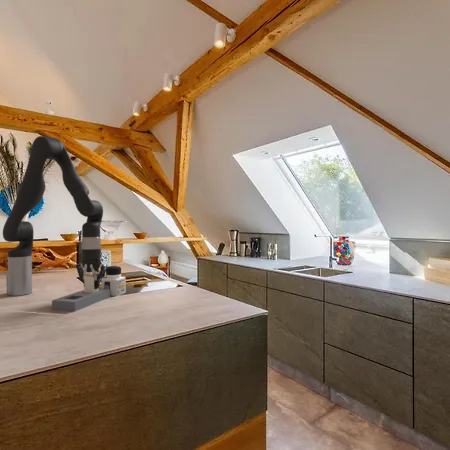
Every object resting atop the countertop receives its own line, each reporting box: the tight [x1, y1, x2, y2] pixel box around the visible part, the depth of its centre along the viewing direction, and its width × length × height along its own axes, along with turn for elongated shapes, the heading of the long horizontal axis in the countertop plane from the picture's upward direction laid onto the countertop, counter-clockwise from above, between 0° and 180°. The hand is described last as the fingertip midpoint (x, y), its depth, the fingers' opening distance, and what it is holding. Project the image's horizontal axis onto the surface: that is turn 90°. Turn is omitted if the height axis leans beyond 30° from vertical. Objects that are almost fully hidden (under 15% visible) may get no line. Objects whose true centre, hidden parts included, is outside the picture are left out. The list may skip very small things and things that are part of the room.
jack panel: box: [51, 287, 111, 312], centre depth 129 cm, size 10×22×4 cm, turn 167°
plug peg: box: [83, 273, 100, 293], centre depth 135 cm, size 4×4×11 cm
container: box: [100, 265, 127, 297], centre depth 145 cm, size 8×8×13 cm
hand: (91, 288), depth 135 cm, fingers closed on plug peg, 4 cm apart
